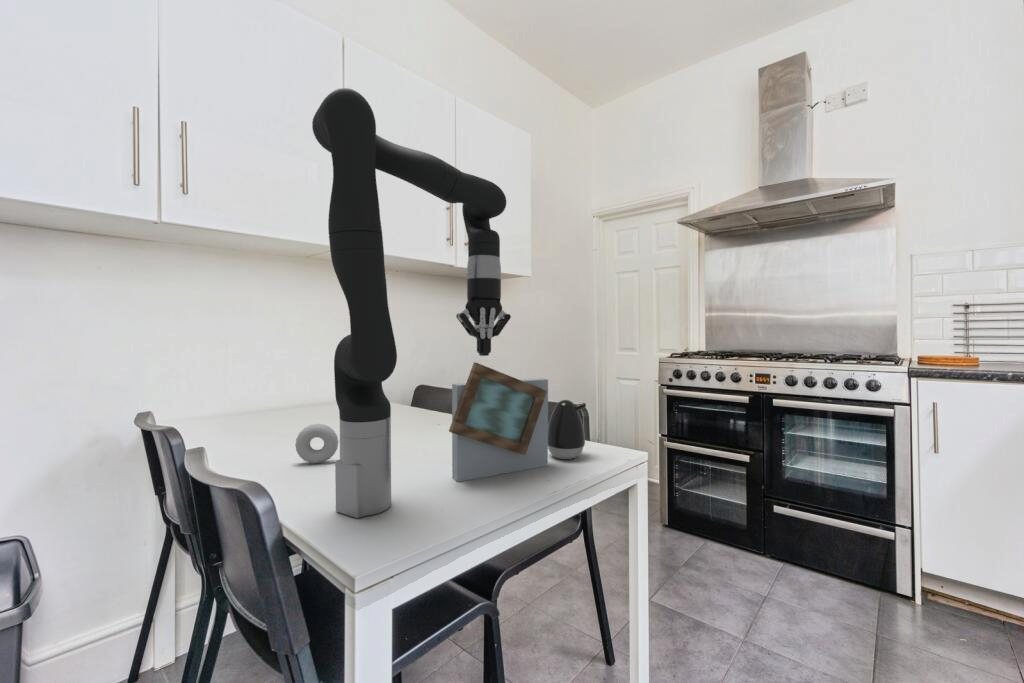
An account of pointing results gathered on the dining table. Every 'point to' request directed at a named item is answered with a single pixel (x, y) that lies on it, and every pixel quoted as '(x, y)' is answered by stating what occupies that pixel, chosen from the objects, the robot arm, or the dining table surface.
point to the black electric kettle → (566, 431)
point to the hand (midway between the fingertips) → (484, 355)
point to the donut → (311, 454)
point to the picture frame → (498, 409)
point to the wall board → (492, 460)
